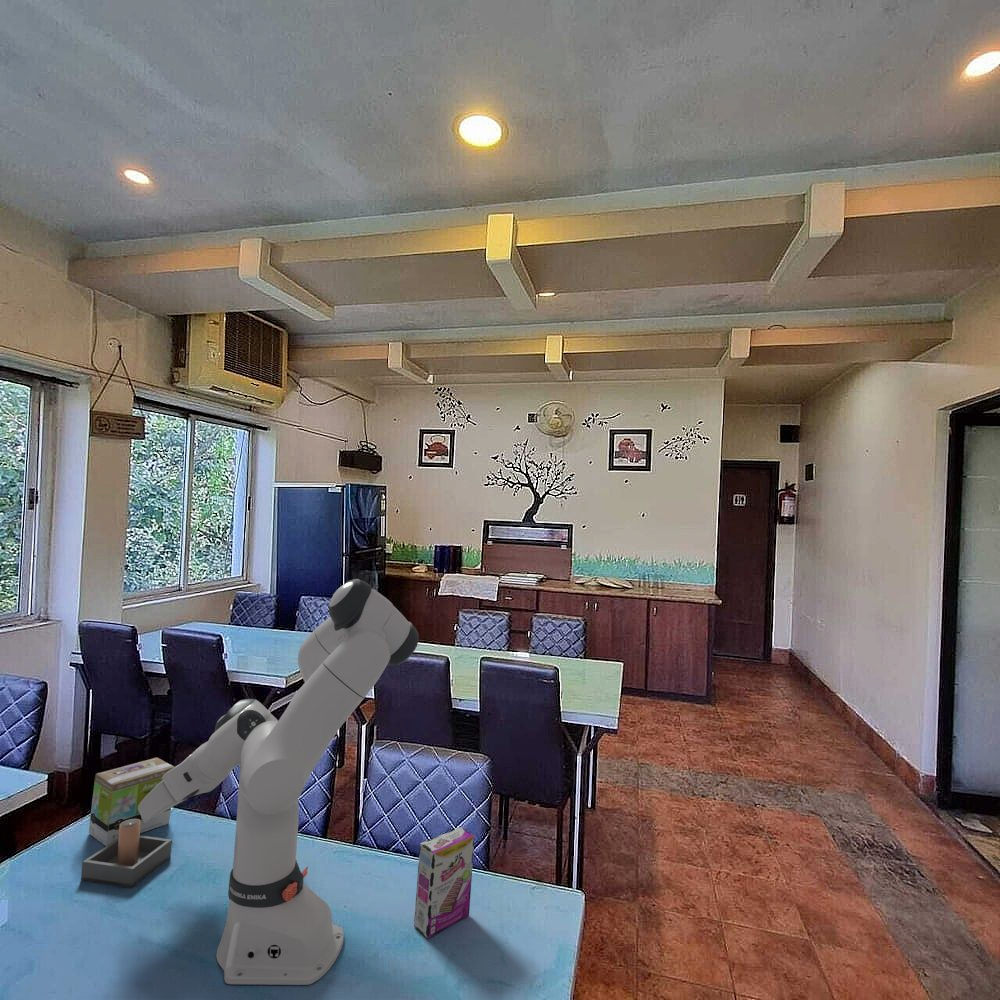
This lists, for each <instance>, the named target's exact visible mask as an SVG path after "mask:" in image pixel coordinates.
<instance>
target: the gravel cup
mask: <svg viewBox="0 0 1000 1000" xmlns="http://www.w3.org/2000/svg"><path fill="white" fill-rule="evenodd" d="M140 822H141V821H140V820H139V819H129V820H126V821H124V822H122V823H121V824H120V825H119V840H118V855H117V864H119V865H126V866H133V865H135V864H136V863H138V852H139V837H140V835H141V833H140Z"/></svg>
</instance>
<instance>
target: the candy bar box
mask: <svg viewBox="0 0 1000 1000" xmlns="http://www.w3.org/2000/svg"><path fill="white" fill-rule="evenodd" d="M475 838H476V837H475V835H473V834H472V833H471V832H469V831H468V830H465V828H463V827H460V826H459V827H458V828H457V827H456V829H453V830H450V831H447V832H446V833H444V834H443V833H442V834H440V835H438V836H435V837H433V838H430V839H427V840H425V841H423V842H420V843H419V853H418V854H419V855H418V865H417V866H418V868H417V879H416V880H417V882H416V894H415V904H414V905H415V906H414V920H413V921H414V922H413V927H414V929H417V931H419V932H420V933H421V934H422V936H423V937H425V938H426V939H429V938H431V937H433V936H435V935H436V934H438V933H440V932H441V931H443V930H445V929H447V928H449V927H450V926H452V925H454V924H456V923H458V922H460V921H462V920H463V919H465V918H467V917H468V916H470V907H471V906H470V905H471V904H470V903H471V894H472V881H473V878H472V876H473V866H474V865H473V863H474V850H475V849H474V848H475Z"/></svg>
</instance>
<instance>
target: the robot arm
mask: <svg viewBox="0 0 1000 1000" xmlns="http://www.w3.org/2000/svg"><path fill="white" fill-rule="evenodd" d="M372 587H373V586H372V585H371V584H369V583H368V582H366V581H364V580H362V579H359V578H354V579H350V580H348V581H346V582H345V583H344V584H343V585H341V586H340V587H338V589H336V590H335V592H334V593H333V595H332V597H331V599H330V600H329V602H328V615H329V617H327V618H326V619H325V620H324V621H323V622H321V623H320V624H319V625H318V626H317V627H316V628H315V629H314V630H312V632H311V633H310V634H309V635H308V636H307V637H306V638H305V640H304V641H303V642H302V644H301V645H300V646H299V650H298V654H297V655H298V656H297V664H298V669H299V672H300V675H301V677H302V679H303V682H304V683H303V684H302V686H301V687H299V689H298V690H297V691H296V692H295V694H294V695H293V696H292V698H291V700H290V702H289V704H288V706H287V707H286V708H285V710H284V712H283V713H282V715H281V716H280V717H279V719H277V718H276V717H275V716H274V715H273V714H272V713H271V712H270V710H268V709H267V708H266V706H264V705H263V703H261V702H260V701H259V700H257V699H256V698H245V699H240V700H239V701H237V702H236V703H235V704H234V705H233V706H232V707H231V708H230V709H229V710H228V711H227V712H226V713H225V714H224V715H222V716H220V718H219V719H218V720H217V722H216V724H215V728H214V732H213V733H212V734H211V736H210V737H209V739H208V741H206V742H204V743H202V744H201V745H200V746H199V747H197V748H196V749H195V750H194V751H193V752H192V753H191V754H189V755H188V756H187V757H186V758H185V759H184V760H183V761H181V762H180V763H179V764H177V765H176V766H174V768H172V769H171V770H170V771H168V772H167V773H166V774H164V775H163V777H162V779H163V781H161V782H160V783H159V784H158V785H157V786H156V787H154V788H153V789H152V791H151V792H150V793H149V794H148V795H147V796H146V797H145V798H144V799H143V800H142V801H141V802H140V804H139V805H138V811H139V813H140V815H141V818H142V820H143V821H144V822H145V823H146V822H148V821H149V820H151V819H152V818H154V817H155V816H157V815H159V814H161V813H163V812H164V811H166V810H168V809H170V808H171V809H172V808H173V807H175V806H177V805H178V804H181V803H183V802H185V801H187V800H188V799H189V798H190V799H191V798H192V797H194V796H197V795H201V794H207V793H209V792H212V791H213V790H214V789H216V788H217V787H218V786H219V785H220V784H221V783H222V782H223V781H224V780H225V779H226V778H227V777H229V775H230V774H231V772H232V771H233V769H234V768H236V767H238V766H239V777H238V778H239V780H238V791H237V807H236V808H237V809H236V822H235V823H236V825H235V826H236V827H235V838H234V851H233V862H232V864H233V865H232V868H231V871H230V874H229V882H228V892H227V893H228V896H227V897H228V900H229V902H228V909H227V914H226V920H225V924H224V928H223V932H222V935H221V939H220V941H219V944H218V947H217V949H216V955H215V956H216V962H217V964H219V966H220V968H222V970H223V979H224V983H226V984H227V985H275V986H277V985H278V986H281V985H284V986H285V985H287V986H288V985H289V986H296V985H297V986H301V985H303V986H307V985H312V984H313V983H315V982H317V981H319V980H320V979H321V978H323V976H324V975H326V974H327V972H328V971H329V970H330V969H331V968H332V966H333V965H334V964H335V962H336V960H337V959H338V957H339V955H340V953H341V950H342V948H343V946H344V941H345V940H344V938H345V936H344V929H343V928H342V927H341V926H340V925H337V924H335V923H333V916H332V915H333V914H332V910H331V908H330V906H329V903H327V902H326V901H325V900H323V898H321V897H320V896H319V895H318V894H317V893H316V892H314V891H313V889H311V888H310V887H309V886H307V884H305V883H304V879H305V877H306V876H307V875H308V868H309V867H308V866H306V867H305V868H304V870H302V871H301V869H300V867H299V863H298V860H297V848H298V846H297V845H298V834H299V833H298V832H299V822H300V820H299V798H300V797H301V795H302V792H303V791H304V788H305V785H306V784H307V782H308V779H309V777H310V776H311V774H312V772H313V771H314V769H315V768H316V766H317V765H318V763H319V762H320V760H321V758H322V757H323V755H324V753H325V751H326V750H327V748H328V746H329V745H330V743H331V741H332V740H333V738H334V737H335V735H336V734H337V733H338V731H339V730H340V728H341V727H342V726H343V724H344V723H345V722H346V721H347V720H348V719H349V717H350V716H351V715H352V714H353V712H354V711H355V710H356V709H357V708H358V706H359V705H360V704H361V702H362V701H363V700H364V699H365V698H366V697H367V695H368V694H369V693H370V691H372V689H373V687H375V685H376V683H377V682H378V681H379V679H380V677H381V676H382V675H383V673H384V671H385V669H386V667H387V666H398V665H401V664H403V663H404V662H406V661H407V660H408V659H409V658H410V657H411V656H412V655H413V654H414V652H415V650H416V648H417V646H418V644H419V638H420V635H419V632H418V629H416V627H415V626H414V624H413V623H412V622H411V621H408V620H407V618H406V617H405V616H404V615H403V614H402V612H401V611H399V610H398V609H397V608H396V606H394V604H393V603H392V602H391V601H390V600H389V599H388V598H387V597H386V596H384V595H382V594H381V593H380V592H378V591H377V590H375V589H374V588H372Z"/></svg>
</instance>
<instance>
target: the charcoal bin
mask: <svg viewBox="0 0 1000 1000" xmlns="http://www.w3.org/2000/svg"><path fill="white" fill-rule="evenodd" d="M118 840H119V838H118V839H116V840H115V841H113V842H112V843H110V844H109V845H107V846H104V847H103V848H101V849H100V850H98V851H96V852H95V853H93V854H92V855H91V856H89V857H87V858H86V859H84V860H83V861H82V862H81V863H82V865H81V874H80V875H81V877H80V882H86V883H94V884H98V885H105V886H106V885H107V886H113V887H119V888H127V889H132V888H134V887H135V886H136V885H137V884H138V883H140V882H142V881H143V879H145V878H146V877H148V876H149V875H150V874H151V873H152V872H154V871H155V870H156V869H158V868H159V867H160V866H161V865H163V864H164V863H165V862H167V861H168V860H170V859H171V856H172V847H173V846H172V844H173V839H168V838H163V837H157V836H156V837H155V836H148V835H141V834H140V837H139V852H138V863H136V864H135V865H133V866H126V865H119V864H117V855H118Z"/></svg>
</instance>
